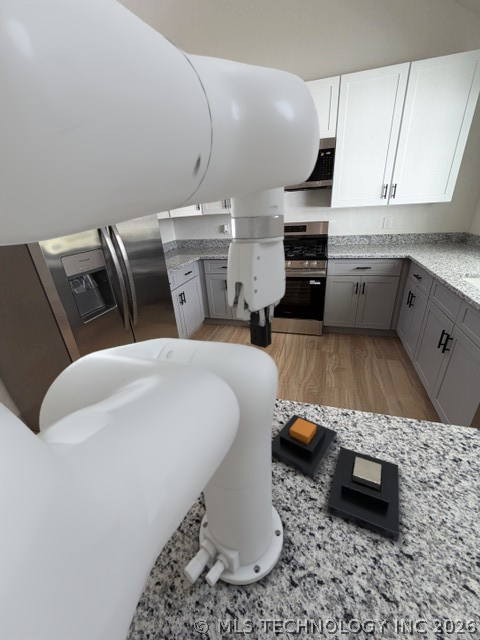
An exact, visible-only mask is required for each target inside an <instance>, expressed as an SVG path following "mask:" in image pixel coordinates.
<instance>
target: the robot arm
mask: <svg viewBox="0 0 480 640" xmlns="http://www.w3.org/2000/svg"><path fill="white" fill-rule="evenodd" d="M320 133H321V129H320V119H319V115H318V111H317V106H316V103H315V100H314V98H313V95H312V93H311V90H310V88H309V87H308V85H307V83H306V81H304V80H303V78H301V77H300V76H298V75H296V74H294V73H291V72H289V71H286V70H282V69H278V68H274V67H269V66H268V67H267V66H261V65H255V64H249V63H243V62H239V61H235V60H231V59H227V58H221V57H216V56H215V57H214V56H208V55H201V54H200V55H199V54H192V53H187V52H186V51H184V50H183V49H182V48H180V46H178V45H176V44H175V43H174V42H173V41H171V40H170V39H168V38H167V37H165V36H164V35H162V34H161V33H160V32H159V31H158V30H156V29H154V28H153V27H152V26H151V25H149V24H148V23H147V22H145V21H144V20H143V19H141V18H140V17H139V16H137V15H136V14H135V13H133V12H132V11H131V10H129V9H128V8H126V7H125V6H124V5H123V4H122V3H120V2H119V1H117V0H0V246H15V245H25V244H32V243H37V242H45V241H51V240H55V239H60V238H64V237H69V236H73V235H77V234H82V233H87V232H89V231H94V230H98V229H101V228H106V227H110V226H113V225H117V224H122V223H125V222H126V223H127V222H129V221H132V220H136V219H140V218H144V217H148V216H152V215H155V214H156V215H157V214H160V213H164V212H169V211H174V210H177V209H182V208H187V207H191V206H192V207H193V206H196V205H203V204H212V203H217V202H222V201H226V200H230V216H231V217H230V218H231V235H232V237H231V238H232V242H230V243H229V248H228V255H227V267H226V269H227V270H226V271H227V273H226V286H227V303H228V306H229V307H230V308H232V309H236V319H237V320H240V321H243V322H247V324H249V338H250V339H249V340H250V344H251V345H252V346H251V345H247V344H240V343H233V342H232V343H231V342H221V341H213V340H212V341H211V340H197V339H196V340H195V339H186V338H173V337H160V338H153V339H147V340H143V341H138V342H133V343H129V344H124V345H120V346H115V347H110V348H105V349H101V350H98V351H93V352H91V353H89V354H86V355H84V356H81V357H80V358H79V359H77V360H75V361H73V362H72V363H71V364H69V366H67V367H66V368H65V369H64V370H63V371H62V372H61V373H60V374H59V375H57V377H56V378H55V379H54V381H53V382H52V384H51V385H50V386H49V388H48V389H47V392H46V394H45V396H44V398H43V400H42V403H41V406H40V410H39V422H38V425H39V432H38V433H34V431H32V430H31V428H29V427H28V426H27V424H25V422H23V421H22V420H21V419H20V418H19V417H18V416H17V415H15V413H13V412H12V410H10V409H9V408H8V407H7V406H5V405H4V404H3V403H2V402H1V401H0V640H126V639H127V637H128V633H129V630H130V627H131V625H132V621H133V619H134V615H135V613H136V610H137V607H138V604H139V602H140V598H141V595H142V593H143V591H144V588H145V585H146V583H147V581H148V578H149V576H150V574H151V572H152V571H153V570H152V569H153V568H154V565H155V563H156V561H157V559H158V558H159V556H160V555H161V553H162V551H163V550H164V548H165V546H166V545H167V543H169V540H170V539H171V538H172V536H173V535H174V534H175V532H176V531H177V529H178V528H179V527H180V525H181V524H182V522H183V521H184V519H185V518H186V516H187V515H188V514H189V511H190V510H191V509H192V507H193V506H194V504H195V502H196V501H197V499H198V498H199V497H200V495H201V493H202V492H203V498H204V506H205V513H204V515H203V518H202V520H201V523H200V528H199V535H198V536H199V537H198V538H199V539H198V541H199V550H198V551H197V553H196V554H195V555H194V556H193V557H192V559H191V560H190V561H189V562H188V563H187V565H185V567H184V568H183V570H182V571H183V574H184V576H185V577H186V579H187V580H188V582H190V583H191V584H195V582H196V581H197V579H198V578H199V577H200V576H201V574H202V572H204V569H205V567H206V566H207V568H208V569H209V571H208V572H207V573H206V575H205V576H204V577H205V578H204V579H205V581H206V583H207V584H208V585H209V586H210V587H211V588H213V587H214V586H215V585H216V583H217V582H218V580H219V579H220V581H223V582H225V583H228V584H231V585H234V586H235V585H242V586H245V585H249V584H254V583H256V582H257V581H260V580H262V579H263V578H265V577H266V576H267V575H268V574H269V573H270V572H271V571H272V570H273V568H275V566H276V564H277V563H278V561H279V559H280V557H281V553H282V550H283V545H284V528H283V522H282V520H281V519H282V518H281V516H280V515H279V512H278V510H277V508H276V507H275V506H274V505H273V465H272V464H273V462H272V461H273V460H272V459H273V458H272V456H271V442H272V434H273V423H274V414H275V408H276V404H277V397H278V390H279V369H278V367H277V364H276V362H275V360H274V358H273V357H272V356H271V355H270V354H268V352H266V351H264V350H262V349H263V348H264V349H266V348H268V347H269V346H271V345H272V322H273V320H274V310H275V308H276V307H277V305H279V304H280V302H281V299H282V298H283V297H284V296H285V293H286V259H285V250H284V249H285V247H284V240H285V236H284V235H285V187H286V188H287V187H291V186H292V187H293V186H297V185H300V184H302V183H305V182H306V181H307V180H308V179H309V178H310V176H311V174H312V173H313V171H314V169H315V167H316V163H317V160H318V157H319V156H318V155H319V150H320V140H321V135H320ZM254 346H256V347H254ZM258 347H259V348H258ZM260 348H262V349H260Z"/></svg>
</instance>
